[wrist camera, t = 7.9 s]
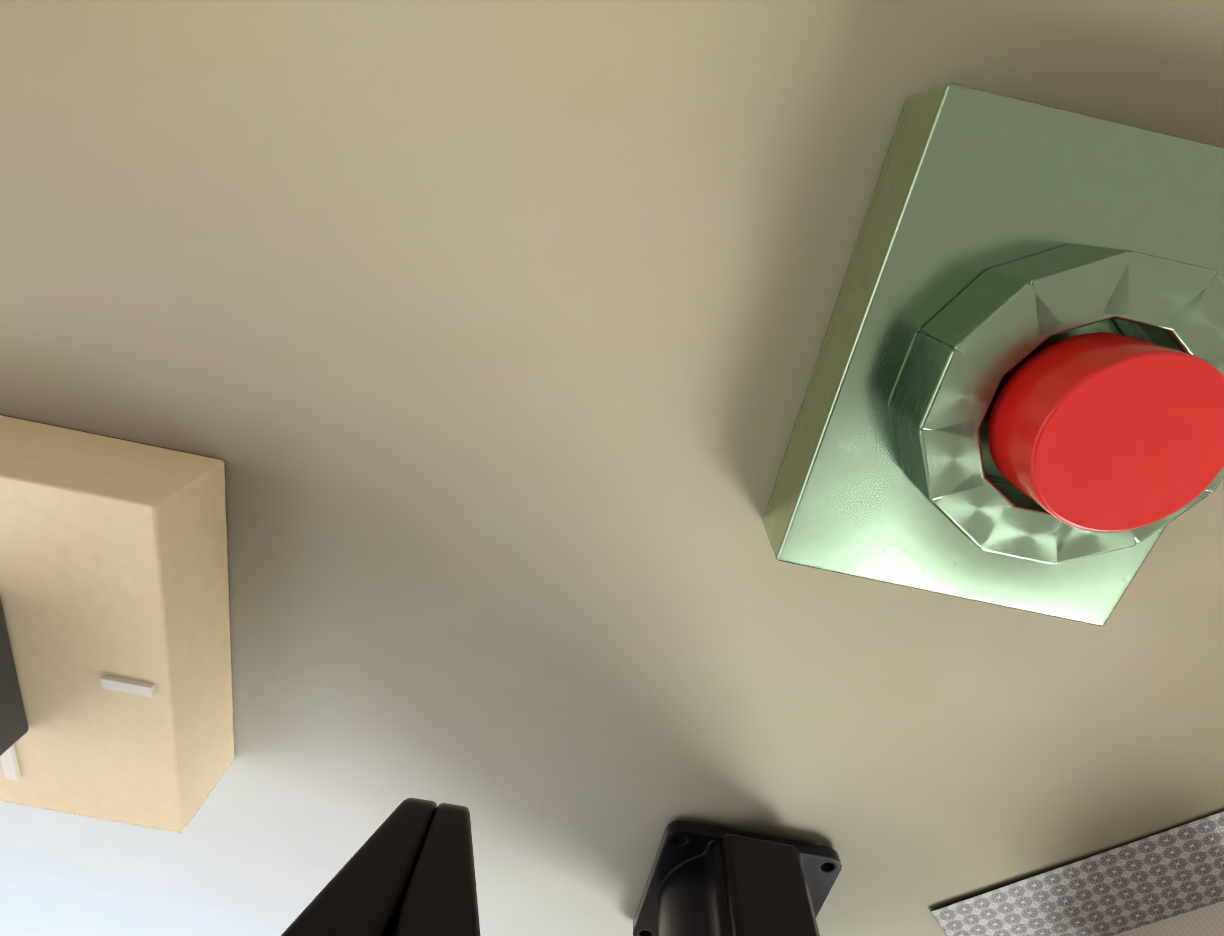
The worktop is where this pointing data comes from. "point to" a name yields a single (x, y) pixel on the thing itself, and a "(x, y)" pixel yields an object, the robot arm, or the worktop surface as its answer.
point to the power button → (1110, 430)
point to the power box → (992, 343)
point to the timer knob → (9, 694)
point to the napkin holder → (1112, 892)
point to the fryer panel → (115, 625)
